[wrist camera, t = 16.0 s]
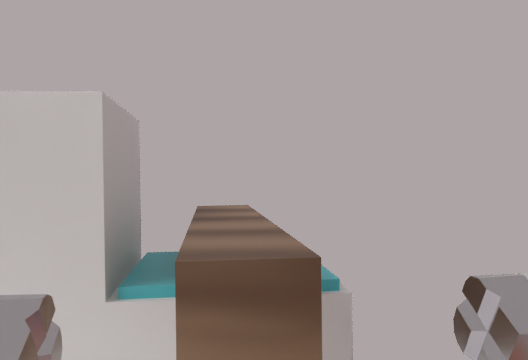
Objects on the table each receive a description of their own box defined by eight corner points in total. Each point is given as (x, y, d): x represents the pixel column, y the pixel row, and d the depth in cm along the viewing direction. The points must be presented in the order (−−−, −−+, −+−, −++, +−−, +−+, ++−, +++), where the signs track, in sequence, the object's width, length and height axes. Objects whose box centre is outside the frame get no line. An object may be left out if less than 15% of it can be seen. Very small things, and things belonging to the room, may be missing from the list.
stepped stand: (355, 610, 25) (349, 92, 24) (-116, 663, 22) (-127, 90, 22) (308, 468, 36) (303, 120, 36) (-2, 493, 34) (-8, 121, 34)
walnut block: (322, 365, 14) (321, 257, 14) (176, 373, 13) (175, 262, 13) (248, 242, 39) (247, 205, 39) (198, 243, 39) (197, 206, 39)
